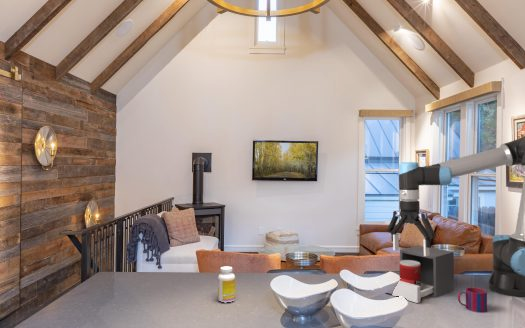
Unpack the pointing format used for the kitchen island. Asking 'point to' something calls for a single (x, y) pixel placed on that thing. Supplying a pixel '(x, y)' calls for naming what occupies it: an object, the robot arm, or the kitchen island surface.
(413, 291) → the tray
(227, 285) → the supplement bottle
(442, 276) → the housing
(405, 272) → the canned food
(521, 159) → the robot arm
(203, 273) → the kitchen island surface
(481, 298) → the mug
